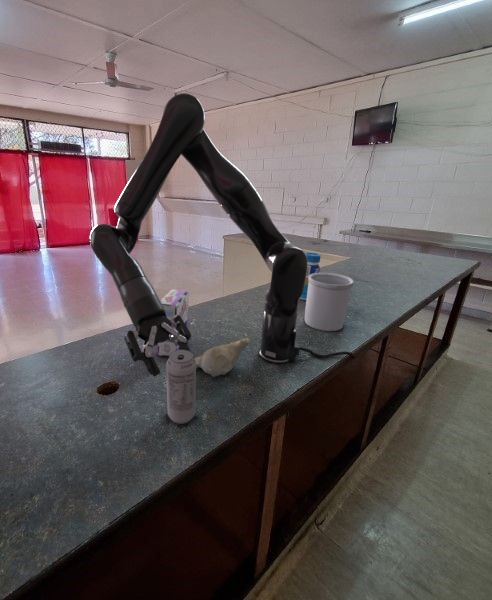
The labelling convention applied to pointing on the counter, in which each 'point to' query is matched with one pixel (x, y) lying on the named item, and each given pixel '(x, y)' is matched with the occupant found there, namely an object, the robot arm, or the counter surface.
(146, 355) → the robot arm
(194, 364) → the energy drink can
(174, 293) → the candy box
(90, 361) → the counter surface
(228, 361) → the beige lumpy piece
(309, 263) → the beverage bottle
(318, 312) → the utensil holder
